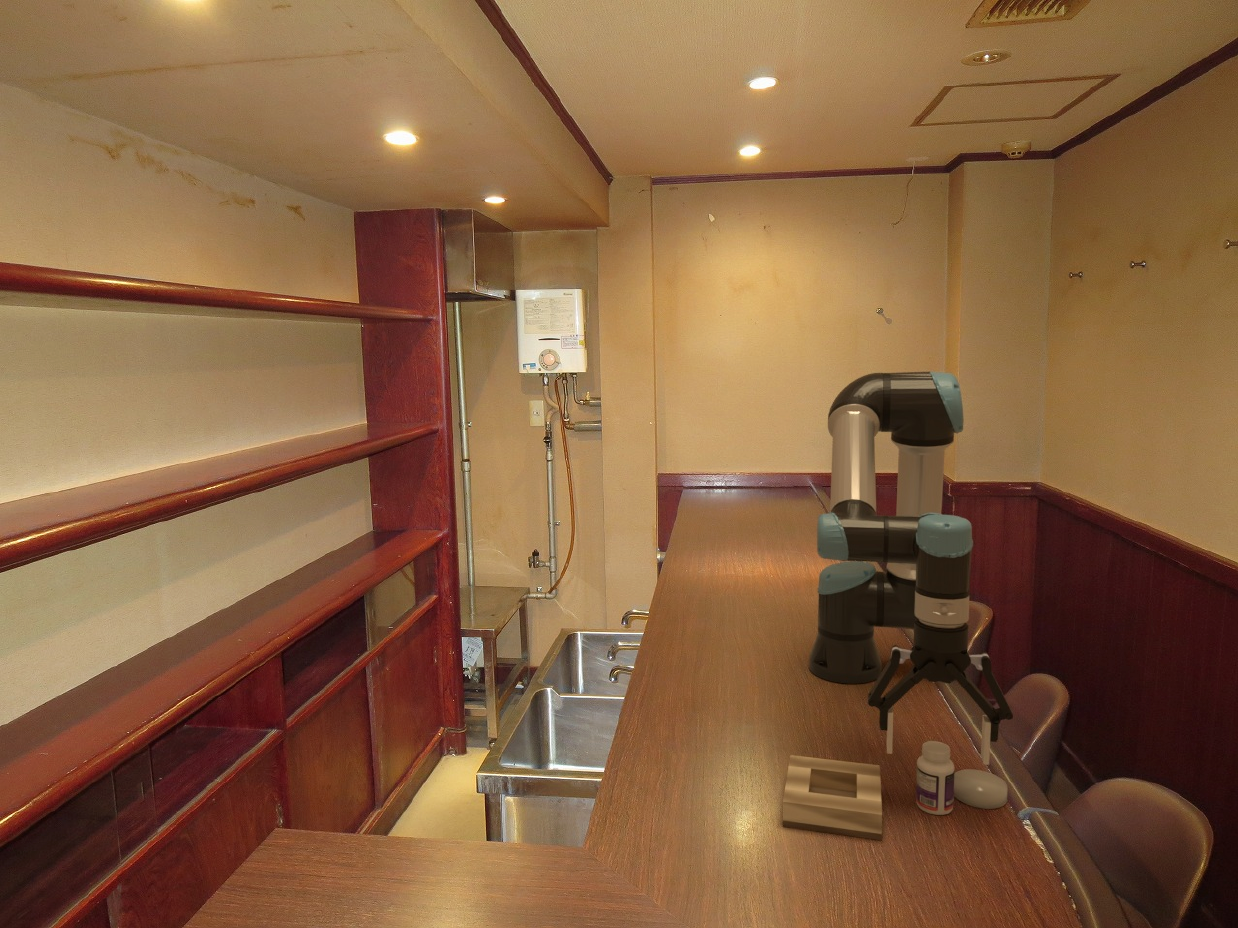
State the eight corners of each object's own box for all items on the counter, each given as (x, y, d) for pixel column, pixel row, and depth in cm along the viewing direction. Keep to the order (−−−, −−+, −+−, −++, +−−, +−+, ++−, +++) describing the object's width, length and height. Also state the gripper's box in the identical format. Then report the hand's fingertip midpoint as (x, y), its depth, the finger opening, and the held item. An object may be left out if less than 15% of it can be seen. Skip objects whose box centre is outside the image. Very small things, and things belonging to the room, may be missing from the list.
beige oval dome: (948, 777, 133) (949, 766, 133) (1002, 784, 131) (1002, 772, 131) (954, 804, 126) (954, 792, 125) (1011, 811, 123) (1011, 799, 123)
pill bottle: (943, 795, 128) (946, 737, 127) (959, 815, 123) (961, 755, 121) (909, 796, 128) (911, 738, 127) (923, 816, 123) (925, 756, 121)
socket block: (790, 777, 135) (790, 754, 134) (879, 788, 131) (879, 765, 130) (782, 826, 121) (782, 801, 121) (881, 840, 117) (882, 814, 117)
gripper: (853, 622, 121) (850, 756, 124) (1039, 635, 114) (1031, 777, 117) (853, 606, 128) (851, 734, 131) (1028, 618, 121) (1021, 752, 124)
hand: (936, 754), depth 124 cm, fingers open, 13 cm apart
